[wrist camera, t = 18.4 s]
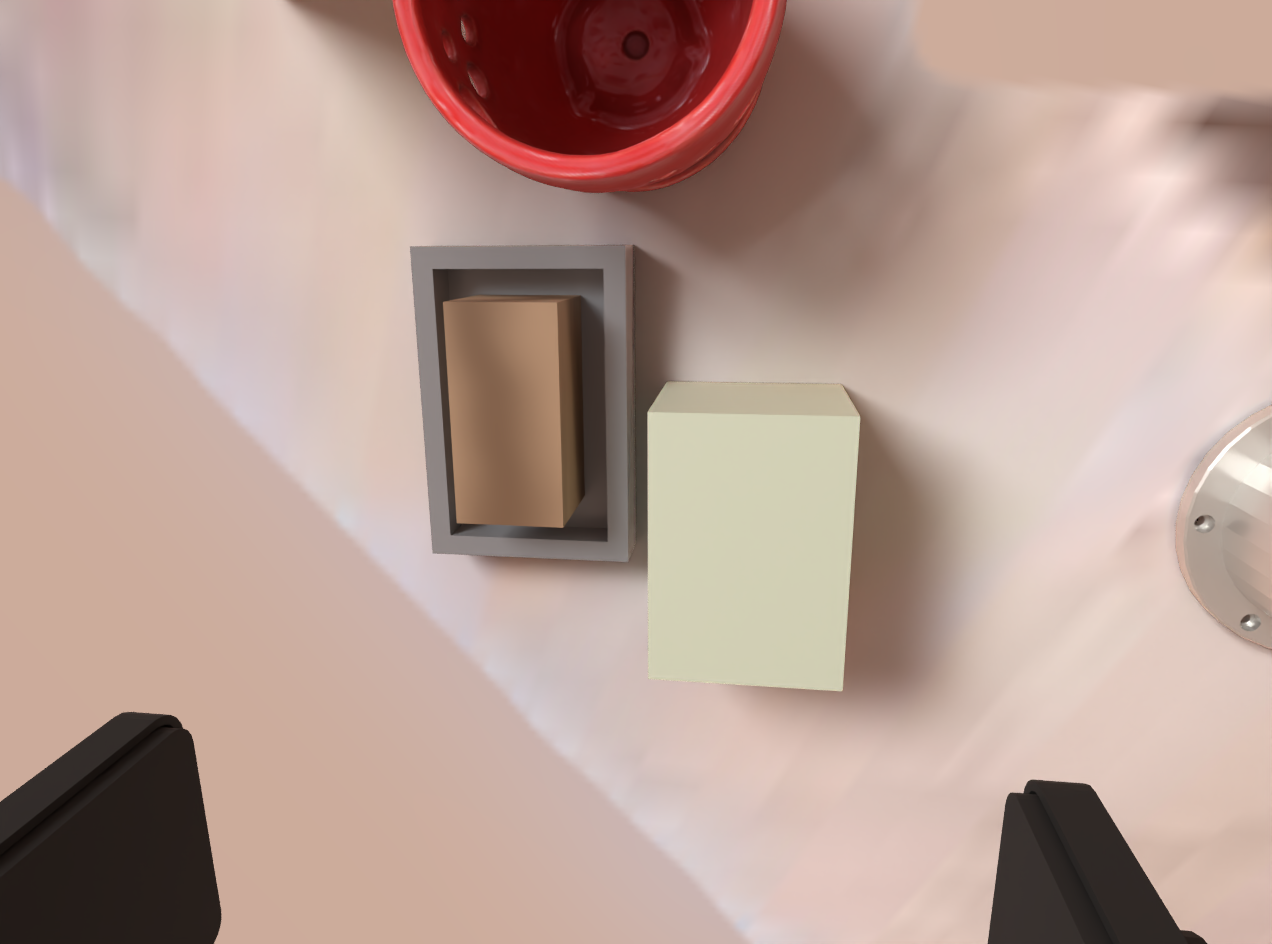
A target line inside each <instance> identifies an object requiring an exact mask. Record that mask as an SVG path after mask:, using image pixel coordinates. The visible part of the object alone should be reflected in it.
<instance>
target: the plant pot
mask: <svg viewBox="0 0 1272 944" xmlns="http://www.w3.org/2000/svg"><path fill="white" fill-rule="evenodd" d="M786 2H787V0H393V7H394V12H395V17H396V21H397V26H398V30H399V33H400V36H401V39H402V42H403V46H404V49H405V52H406V54H407V57H408V59H409V61H410V64H411V66H412V68H413V70H414V72H415V74H416V76H417V78H418V80H419V82H420V84H421V85H422V87H423V89H424V91H425V92H426V94H427V95H428V97H429V98H430V100H431V101H432V103H433V105H434V106H435V107H436V108H437V110H438V111H439V112H440V113H441V114H442V116H443V117H444V118H445V119H446V120H447V122H448V123H449V124H450V125H451V126H452V127H453V128H454V129H455V130H456V131H457V132H458V133H459V134H460V135H461V136H462V137H463V138H465V139H466V140H467V141H468V142H469V143H470V144H472V145H473V146H474V147H476V148H477V149H478V150H480V151H481V152H482V153H484V154H485V155H487V156H489V157H490V158H492V159H493V160H495V161H496V162H498V163H500V164H502V165H503V166H505V167H507V168H509V169H511V170H512V171H514V172H516V173H518V174H521V175H523V176H525V177H527V178H530V179H532V180H535V181H538V182H541V183H544V184H547V185H551V186H555V187H560V188H564V189H569V190H574V191H580V192H588V193H604V192H616V191H627V192H639V191H650V190H656V189H660V188H664V187H667V186H670V185H673V184H676V183H678V182H680V181H682V180H685V179H687V178H688V177H690V176H692V175H694V174H696V173H697V172H699V171H701V170H702V169H703V168H705V167H706V166H708V165H709V164H710V163H711V162H713V161H714V160H715V159H716V158H717V157H718V156H719V155H720V154H721V153H723V152H724V151H725V150H726V148H727V147H728V146H729V145H730V144H731V143H732V141H733V140H734V139H735V138H736V137H737V135H738V134H739V132H740V131H741V130H742V128H743V127H744V125H745V123H746V122H747V120H748V118H749V117H750V115H751V113H752V111H753V109H754V107H755V105H756V102H757V99H758V97H759V94H760V91H761V88H762V84H763V81H764V79H765V76H766V74H767V71H768V69H769V66H770V63H771V61H772V58H773V55H774V52H775V49H776V46H777V42H778V39H779V35H780V32H781V28H782V24H783V19H784V14H785V9H786ZM461 20H462V22H463V24H464V27H465V30H466V40H464V38H463V36H462V32H461ZM468 74H469V75H470V77H471V78H472V80H473V82H474V84H475V87H476V90H477V92H476V90H475V88H474V87H473V85H472V84H471V81H470V78H469V75H468Z"/></svg>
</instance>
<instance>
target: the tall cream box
mask: <svg viewBox="0 0 1272 944" xmlns="http://www.w3.org/2000/svg"><path fill="white" fill-rule="evenodd" d="M647 425H648V679H656V680H671V681H687V682H703V683H719V684H734V685H750V686H766V687H782V688H797V689H813V690H829V691H843V677H844V662H845V647H846V631H847V616H848V601H849V585H850V570H851V554H852V539H853V524H854V508H855V493H856V477H857V462H858V447H859V431H860V415H859V413H858V412H857V410H856V408H855V406H854V405H853V403H852V401H851V400H850V398H849V396H848V394H847V393H846V391H845V389H844V388H843V386H842V384H800V383H737V382H675V381H667V382H666V384H665V386H664V387H663V389H662V390H661V392H660V393H659V395H658V396H657V398H656V400H655V401H654V403H653V404H652V406H651V407H650V409H649V411H648V412H647Z"/></svg>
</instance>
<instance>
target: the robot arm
mask: <svg viewBox="0 0 1272 944" xmlns="http://www.w3.org/2000/svg"><path fill="white" fill-rule="evenodd" d="M1198 517H1200V519H1199V520H1198V521H1197V522H1195V521H1196V519H1197V518H1198ZM1175 547H1176V552H1177V556H1178V561H1179V565H1180V570H1181V572H1182V574H1183V576H1184V578H1185V580H1186V583H1187V585H1188V587H1189V589H1190V591H1191V592H1192V593H1193V595H1194V596H1195V597H1196V598H1197V600H1198V601H1199V602H1200V603H1201V605H1202V606H1203V607H1204V608H1205V609H1206V610H1207V611H1208V612H1209V613H1210V614H1211V615H1213V616H1214V617H1215V618H1216V619H1217V620H1218V621H1219V622H1220V623H1222V624H1223V625H1224V626H1226V627H1227V628H1229V629H1230V630H1231V631H1233V632H1234V633H1236V634H1237V635H1239V636H1241V637H1242V638H1245V639H1247V640H1249V641H1252V642H1254V643H1257V644H1259V645H1261V646H1264V647H1266V648H1270V649H1272V405H1270V406H1268V407H1266V408H1264V409H1262V410H1260V411H1258V412H1257V413H1255V414H1253V415H1251V416H1250V417H1248V418H1247V419H1245V420H1244V421H1243V422H1241V423H1240V424H1239V425H1237V426H1236V427H1234V428H1233V429H1232V430H1230V431H1229V432H1228V433H1227V434H1226V435H1225V436H1224V437H1223V438H1222V439H1221V440H1220V441H1219V442H1218V443H1217V444H1216V445H1215V446H1214V447H1213V448H1212V449H1211V450H1210V451H1209V452H1208V453H1207V454H1206V456H1205V457H1204V458H1203V460H1202V461H1201V463H1200V464H1199V466H1198V467H1197V469H1196V470H1195V471H1194V473H1193V474H1192V476H1191V478H1190V480H1189V483H1188V485H1187V487H1186V489H1185V492H1184V494H1183V496H1182V498H1181V502H1180V506H1179V511H1178V515H1177V520H1176V545H1175ZM220 924H221V907H220V901H219V895H218V889H217V883H216V877H215V871H214V865H213V858H212V853H211V846H210V841H209V834H208V828H207V822H206V816H205V810H204V804H203V798H202V792H201V785H200V779H199V773H198V767H197V762H196V755H195V749H194V743H193V739H192V736H191V734H190V733H189V731H188V730H185V729H183V727H182V724H181V723H180V722H179V720H178V719H177V718H176V717H174V716H172V715H163V714H149V713H136V712H126V713H121V714H119V715H118V716H116V717H114V718H113V719H111V720H110V721H109V722H107V723H106V724H105V725H103V726H102V727H101V728H99V729H98V730H97V731H95V732H94V733H92V734H91V735H90V736H88V737H87V738H86V739H84V740H83V741H82V742H80V743H79V744H78V745H76V746H75V747H74V748H72V749H71V750H70V751H68V752H67V753H65V754H64V755H63V756H62V757H60V758H59V759H57V760H56V761H55V762H53V763H52V764H51V765H49V766H48V767H47V768H45V769H44V770H43V771H41V772H40V773H38V774H37V775H36V776H35V777H33V778H32V779H30V780H29V781H28V782H26V783H25V784H24V785H22V786H21V787H20V788H18V789H17V790H16V791H14V792H13V793H12V794H10V795H9V796H7V797H6V798H5V799H3V800H2V801H1V802H0V944H214V942H215V939H216V937H217V935H218V932H219V928H220ZM988 944H1207V943H1206V942H1205V940H1204V939H1203V938H1202V937H1200V936H1198V935H1197V934H1195V933H1194V932H1192V931H1183V930H1180V929H1179V928H1178V926H1177V925H1176V923H1175V921H1174V920H1173V918H1172V916H1171V915H1170V913H1169V911H1168V910H1167V908H1166V907H1165V905H1164V903H1163V902H1162V900H1161V898H1160V897H1159V895H1158V894H1157V892H1156V890H1155V889H1154V887H1153V885H1152V884H1151V882H1150V880H1149V879H1148V877H1147V876H1146V874H1145V872H1144V871H1143V869H1142V867H1141V866H1140V864H1139V862H1138V861H1137V859H1136V858H1135V856H1134V854H1133V853H1132V851H1131V849H1130V848H1129V846H1128V844H1127V843H1126V841H1125V840H1124V838H1123V836H1122V835H1121V833H1120V831H1119V830H1118V828H1117V827H1116V825H1115V823H1114V822H1113V820H1112V818H1111V817H1110V815H1109V813H1108V812H1107V810H1106V809H1105V807H1104V805H1103V804H1102V802H1101V800H1100V799H1099V797H1098V795H1097V794H1096V792H1095V791H1094V790H1093V789H1092V787H1091V786H1090V785H1087V784H1083V783H1069V782H1056V781H1043V780H1030V781H1028V782H1027V784H1026V786H1025V789H1024V793H1010V794H1009V795H1008V797H1007V800H1006V804H1005V812H1004V820H1003V827H1002V835H1001V843H1000V851H999V859H998V867H997V875H996V883H995V891H994V898H993V906H992V914H991V922H990V930H989V938H988Z"/></svg>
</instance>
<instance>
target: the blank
mask: <svg viewBox="0 0 1272 944" xmlns="http://www.w3.org/2000/svg"><path fill="white" fill-rule="evenodd" d="M443 311H444V327H445V343H446V359H447V375H448V391H449V407H450V423H451V439H452V455H453V471H454V487H455V503H456V518H457V523H464V524H487V525H511V526H534V527H558V528H563V527H564V526H565V524H566V523H567V521H568V520H569V519H570V517H571V516H572V514H573V513H574V511H575V510H576V508H577V507H578V505H579V504H580V502H581V501H582V499H583V498H584V496H585V478H584V429H583V379H582V330H581V295H475V296H470V297H465V298H460V299H455V300H450V301H445V302H443Z"/></svg>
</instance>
